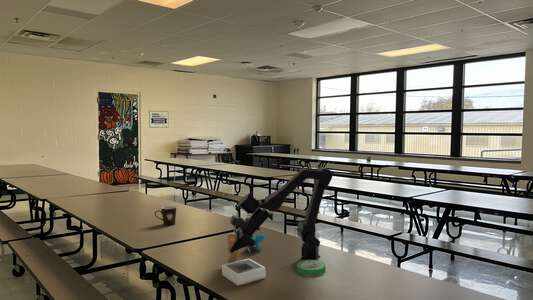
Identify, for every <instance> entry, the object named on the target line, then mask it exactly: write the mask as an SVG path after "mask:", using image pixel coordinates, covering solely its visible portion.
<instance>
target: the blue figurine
mask: <svg viewBox="0 0 533 300" xmlns="http://www.w3.org/2000/svg"><path fill="white" fill-rule="evenodd" d="M253 239H254V241H255V245H254V246H253V247H252V248H254V247H256V249H257V251H258V252H260V251H261V247H259V246H260V243H263V241H264V240H265V239H266V236H265V235H264V234H259V235H258V234H257V235H255V237H254V236H253ZM245 248H246V249H247V250H248V253H251V249H250V248H251V247H250V246H246V247H245Z"/></svg>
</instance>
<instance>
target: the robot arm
mask: <svg viewBox="0 0 533 300" xmlns="http://www.w3.org/2000/svg"><path fill="white" fill-rule="evenodd" d="M307 179H308V180H310V179H311V180H313V190H312V193H311V196H310V199H309V202H308V206H307V210H306V212H305V213H306V214H305V217H304V219H303V220H302V221H300V220H299V221H298V225H297V228H296V230H295V231H297V232H296V234H297V237H298V238H300V240H301V242H302V246H301V247H300V248H301V253H300V254H301V258H300V259H301V260H302V261H303V260H319V258H321V256H320V255H319V254H320V253H319V252H320V251H319V250H320V249H319V247H320V244H321V241H320V240H319V239H318V238H317V237H316V221H317V216H318V214H319V210H320V208H321V203H322V200H323V196H324V192H325V191H326V189H327V187H328V186H330V183H331V181H332V179H333V172H332V170H331V169H329V168H326V167H323V166H319V167H317V168H303V167H302V168H300V169H299V170H298V172H296V173H295V174H294V175H293V176H292V177H291V178H290V179H289V180H287V182H285V183H284V184H283V185H282V186H281V187H280V188H279V189H278V190H276V191H274V192H272V193H270V194H268V195H267V196H265V198H262V199H257V198H255V197H254V195H253V194H252V193H251V192H248V194H246V195H244V196H243V197H241V199H240V200H239V201H238V202H237V205H238V206H239V208H241V209H242V210H243V211H244V212H245V213H246V214H248V215H249V214H251V215H250V216H249V217H246V218H243V217H240V216H237V215H234V214H232V216H231V218H230V221H229V223H230V225H232V226H233V228H234V229H233V233H237V234H238V235H237V240H236V242H235V243H234V245H233V246H232V248H231V249H230V252H231V253H232V252H234V251H237V250H238V251H239V250H241V249H244V248H246V246H250V248H251V249H252V248H254V247H255V246H254V245H255V241H254V239H253V237H254V234H255V233H256V232H258V231H260V230H261V228H260V227H262V226H263V224H264V223H265V222H266V221H267V220H268V219H269V220H270V221H273V220H274V213H275V212H277V211H279V209H280V208H281V207H282V205H283V204H284V202H285V200H286V199H287V197H289V196H290V195H291V194H292V193H293V192H294V191H295V190H296V189H297V188H298V187H299V186H300V185H302V184H303V183H304V182H305V181H306V180H307ZM259 206H260V207H259ZM253 246H254V247H253Z"/></svg>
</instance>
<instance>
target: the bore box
mask: <svg viewBox="0 0 533 300" xmlns="http://www.w3.org/2000/svg"><path fill="white" fill-rule="evenodd" d="M266 274H267V273H266V267H265V266H264V265H262V264H260V263H258V262H256V261H254V260H253V259H251V258H245V259H244V258H243V259H241V260H238V261H236V262H232V263H228V262H227V263H225V264H221V275H222V277H224V278H226V279H227V280H229V281H230V282H231V283H233V284H234V285H236V286H237V287H238V286H242V285H246V284H249V283H253V282H256V281H261V280H263V279H266V276H267V275H266Z"/></svg>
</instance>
